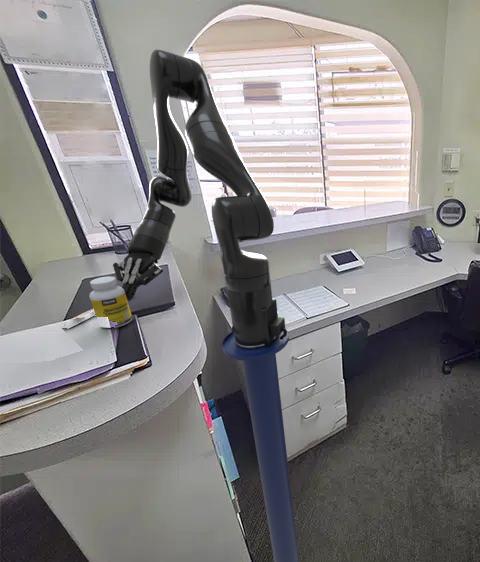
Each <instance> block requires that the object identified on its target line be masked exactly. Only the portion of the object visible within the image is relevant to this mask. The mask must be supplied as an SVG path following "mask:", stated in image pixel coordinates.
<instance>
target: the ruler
mask: <svg viewBox="0 0 480 562" xmlns="http://www.w3.org/2000/svg"><path fill="white" fill-rule="evenodd" d="M93 310H94V309H93V308H91V309H89V310H87V311H85V312H83V313H81V314H78V315H76V316H74V317H72V318H70V319H69V320H71V319H76V318H83V317H84V316H85V315H87V314H88V313H90V312H91V311H93Z"/></svg>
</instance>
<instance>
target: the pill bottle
mask: <svg viewBox="0 0 480 562" xmlns="http://www.w3.org/2000/svg"><path fill="white" fill-rule="evenodd" d="M89 283H90V284H89V285H90V287H91V289H93V290H92V291H91V292H90V293H89V295H88V296H89V300H90V303H91V306H92V309H94V312H95V315H96V316H95V318H97V317H108V319H109V321H112V322H117V323H118V325H115V327H114V328H113V329H118V328H121V327H123V326H125V325H128V324H129V323H131V322H132V320H133V315H132V312H131V308H130V305H129V300H127V298H126V294H125V291H124V289H123V288H122V286H120V285H117V284H118V280H117V277H115V276H102V277H97V278H94V279H92V280H90V282H89Z"/></svg>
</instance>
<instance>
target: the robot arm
mask: <svg viewBox="0 0 480 562" xmlns="http://www.w3.org/2000/svg"><path fill="white" fill-rule="evenodd" d="M149 80H150V88H151V89H150V90H151V98H152V107H153V115H154V120H155V122H154V123H155V127H156V129H155V130H156V138H157V139H156V141H157V142H156V143H157V146H156V147H157V149H156V160H157V161H156V167H157V170H158V172H160V173H161V174H162V175H164V176H162V175H161V176H160V175H158V176H155V177H152V179H151V180H150V181H149V186H148V201H147V206H146V208H145V212H144V214H143V216H142V219H141V220H140V222H139V224H138V225H137V227H136V229H135V231H134V233H133V235H132V237H131V240H130V242H129V244H128V246H127V252H128V253H127V255H126V256H125V257H124V259H123V260H122V261H121V262H119V263H118V262H114V263H112V268H113V271H114V273H115V276H116V277H115V278H116V281H119V282H121V283H122V286H121V287H122V288H123V289H124V291H125V294H126V298H127V301H131V300H132V299H133V298H134V297H135V295H136V292H137V290H138V288H140V286H147V285H148V284H149V283H151V282H152V281H153V280H154V279H156V278H157V277H158V276H159V275H160V274H162V273H164V269H163V268H161V267H160V266H159V265H158V264H159V260H160V259H161V258H162V256H163V253H164V250H165V248H166V246H167V243H168V241H169V238H170V234H171V230H172V228H173V226H174V223H175V221H176V217H177V214H176V212H175V210H173V209H172V208H170V207H168V206H166V205H165V204H163V203H166V204H169V205H172V206H176V207H179V208H184V207H188V206H189V204H190V203H191V202H192V198H193V192H192V187H191V183H190V180H189V176H188V159H189V149H190V151H191V154H192V157H193V158H194V159H195V161H196V162H197V164H198V165H199V166H200V167H201V168H202V169H203V170H204V171H206V172H207V173H208V174H210V175H211V176H212V177H214V178H215V179H217V180H218V181H220V182H221V183H222V184H224V185H225V186H227V187H228V188H229V189H230V190H231V192H234V194H235V195H228V196H218V197H216V198H214V199H213V201H212V202H211V217H212V223H213V227H214V232H215V236H216V240H217V245H218V250H219V255H220V261H221V264H222V268H223V274H224V275H223V277H224V281H225V282H224V283H225V287H226V293H227V299H228V306H229V312H230V317H231V323H232V326H231V332H233V331H234V336H235V344H236V345H237V346H238V347H240V348H242V349H258V348H262V347H270V346H271V345H272V343H273V342H274V341H275V339H276V338H277V336H278V337H279V336H280V334H281V333H282V331H283V332H284V333H283V335H282V336H281V337H280V339H281V340H283V338H285V337H286V335H287V331H288V330H287V328H286V320H285V317H281V316H280V317H279V315H278V314H279V311H278V303H277V298H273V290H272V282H271V281H272V280H271V271H270V263H269V262H270V261H269V259H268V257H266V255H264V254H260V253H258V252H257V253H256V252H250V251H245V250H243V249H241V247H240V243H244V242H250V241H258V240H264V239H266V238H270V236H271V235H272V234H273V233H274V229H275V223H274V222H275V221H274V216H273V212H272V211H271V208H270V206H269V204H268V202H267V200H266V198H265V196H264V194H263V193H262V191H261V189H260V188H259V187H258V185H257V183H256V182H255V180H254V178H253V176H252V175H251V173H250V172H249V170H248V168H247V166H246V164H245V162H244V160H243V158H242V155H241V153H240V152H239V149H238V147H237V144H236V142H235V140H234V138H233V136H232V134H231V132H230V130H229V128H228V126H227V124H226V122H225V119H224V118H223V116H222V114H221V112H220V109H219V107H218V105H217V103H216V99H215V96H214V93H213V91H212V88H211V85H210V83H209V79H208V77H207V75H206V72H205V69H204V68H203V67H202V65H201V64H200V63H199V62H197V61H195V60H194V59H191V58H190V57H185V56H183V55H180V54H179V55H178V54H176V53H172V52H169V51H166V50H162V49H154V50H153V51H152V52H151V54H150V59H149ZM170 98H171V99H174V100H175V99H176V100H180V101H185V102H188V103H192V104H193V105H194V106H195V108H194V110H193V112H191V114H190V115H189V117H188V118H187V121H186V123H185V126H184V134H183V133H182V131H181V130H180V128H179V126H178V124H177V123H176V121H175V120H174V118H173V115H172V112H171V109H170ZM184 135H185V137H184ZM188 146H189V147H188ZM161 202H163V203H161ZM285 328H286V329H285Z"/></svg>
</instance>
